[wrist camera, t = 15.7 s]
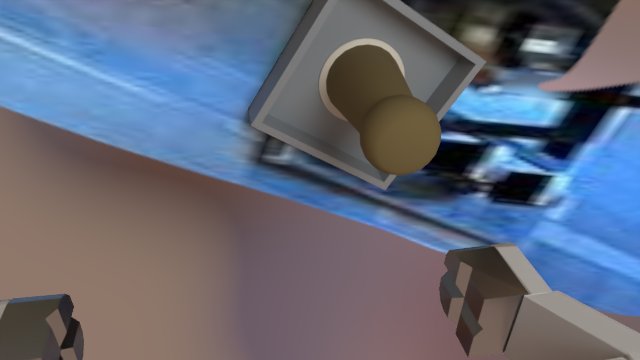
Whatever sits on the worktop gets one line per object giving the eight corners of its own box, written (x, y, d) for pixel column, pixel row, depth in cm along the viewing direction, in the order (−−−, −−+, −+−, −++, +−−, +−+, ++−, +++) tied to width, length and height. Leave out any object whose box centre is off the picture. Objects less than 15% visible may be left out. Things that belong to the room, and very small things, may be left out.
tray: (248, 109, 40) (250, 125, 38) (339, -43, 35) (349, -35, 33) (375, 171, 46) (385, 190, 43) (469, 48, 41) (486, 61, 38)
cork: (310, 88, 39) (341, 159, 30) (362, 28, 37) (412, 84, 28) (363, 129, 42) (406, 204, 33) (414, 75, 40) (474, 139, 31)
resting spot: (317, 123, 41) (318, 124, 41) (319, 39, 37) (320, 40, 37) (398, 118, 42) (399, 119, 42) (408, 36, 39) (409, 37, 38)
